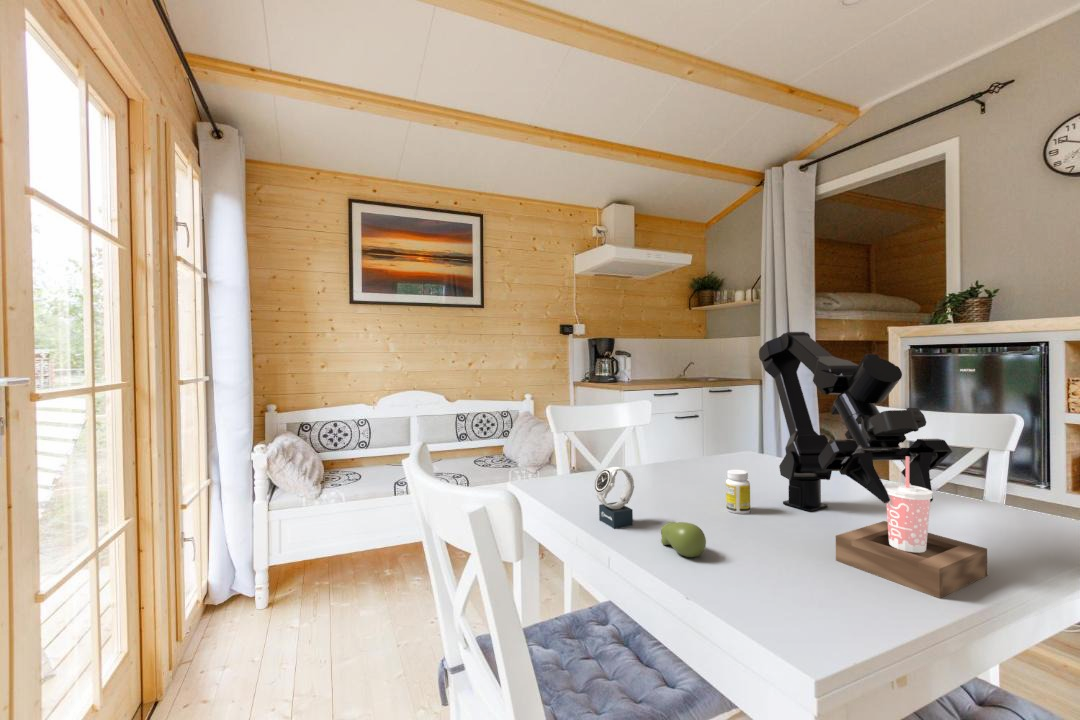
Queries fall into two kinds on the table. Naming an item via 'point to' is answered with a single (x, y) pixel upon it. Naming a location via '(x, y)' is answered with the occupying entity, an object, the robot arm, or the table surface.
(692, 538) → the pear
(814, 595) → the table surface
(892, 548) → the walnut box
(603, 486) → the watch
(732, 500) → the supplement bottle
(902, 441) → the robot arm
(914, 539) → the beverage cup
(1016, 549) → the table surface
